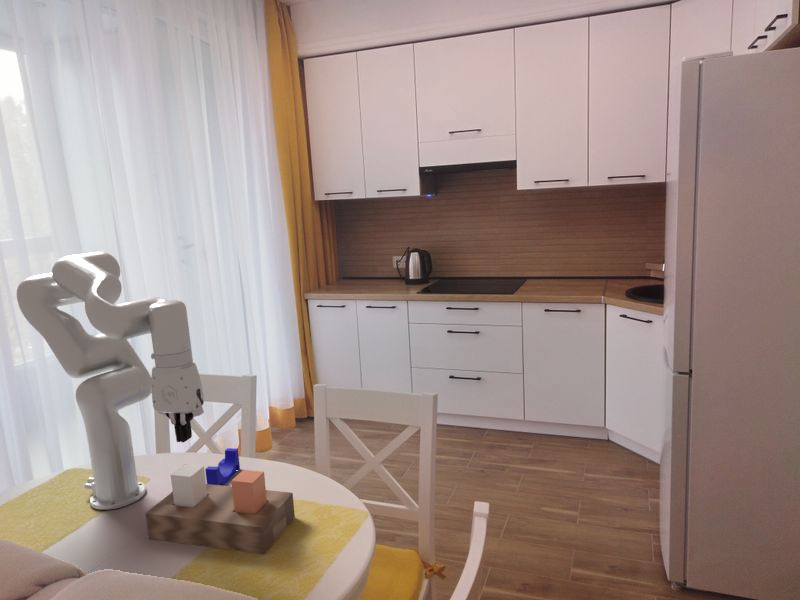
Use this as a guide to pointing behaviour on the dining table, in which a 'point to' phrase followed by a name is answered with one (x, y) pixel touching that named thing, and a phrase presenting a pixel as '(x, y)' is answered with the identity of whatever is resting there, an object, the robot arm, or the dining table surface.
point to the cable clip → (223, 468)
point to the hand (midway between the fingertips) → (184, 439)
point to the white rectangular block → (189, 485)
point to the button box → (221, 521)
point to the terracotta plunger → (249, 492)
